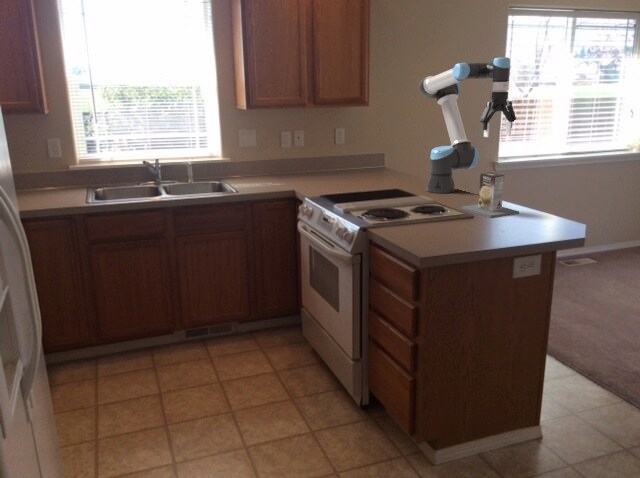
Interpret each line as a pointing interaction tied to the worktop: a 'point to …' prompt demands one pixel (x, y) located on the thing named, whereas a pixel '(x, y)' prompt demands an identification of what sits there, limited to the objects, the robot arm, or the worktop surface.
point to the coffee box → (491, 191)
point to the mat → (490, 213)
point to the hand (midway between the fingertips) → (497, 136)
